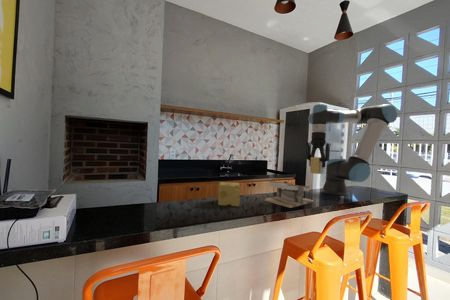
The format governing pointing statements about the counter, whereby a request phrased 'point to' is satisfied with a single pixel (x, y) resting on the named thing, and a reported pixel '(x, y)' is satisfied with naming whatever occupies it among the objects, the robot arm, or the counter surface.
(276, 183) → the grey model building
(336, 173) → the robot arm
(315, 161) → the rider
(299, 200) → the stand
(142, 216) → the counter surface
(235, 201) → the cheese
